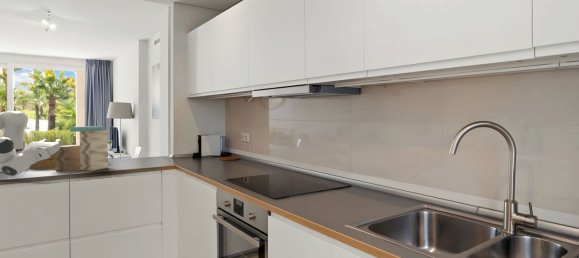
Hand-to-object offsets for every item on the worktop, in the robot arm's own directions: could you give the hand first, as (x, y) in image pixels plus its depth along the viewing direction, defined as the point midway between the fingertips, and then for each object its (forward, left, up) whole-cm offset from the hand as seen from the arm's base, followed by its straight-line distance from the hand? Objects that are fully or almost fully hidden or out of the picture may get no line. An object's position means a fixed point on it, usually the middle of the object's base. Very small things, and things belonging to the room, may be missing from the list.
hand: (53, 140), depth 201 cm
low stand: (-13, +23, -22) cm, 34 cm away
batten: (0, +25, +4) cm, 26 cm away
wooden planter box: (-40, +31, -22) cm, 55 cm away
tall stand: (0, +30, -22) cm, 37 cm away
